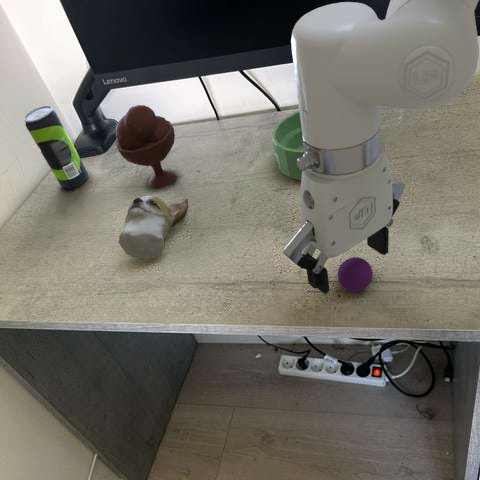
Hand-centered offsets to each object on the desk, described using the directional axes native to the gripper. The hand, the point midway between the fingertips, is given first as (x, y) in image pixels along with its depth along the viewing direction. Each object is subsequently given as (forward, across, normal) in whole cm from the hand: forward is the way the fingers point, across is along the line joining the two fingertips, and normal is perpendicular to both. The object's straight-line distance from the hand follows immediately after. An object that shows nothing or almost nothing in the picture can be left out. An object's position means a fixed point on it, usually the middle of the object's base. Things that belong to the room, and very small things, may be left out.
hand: (349, 268), depth 62 cm
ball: (+1, 0, 0) cm, 1 cm away
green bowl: (+4, +18, +27) cm, 33 cm away
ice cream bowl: (+4, -6, +47) cm, 48 cm away
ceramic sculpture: (+4, -15, +32) cm, 35 cm away
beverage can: (+5, -18, +64) cm, 67 cm away
